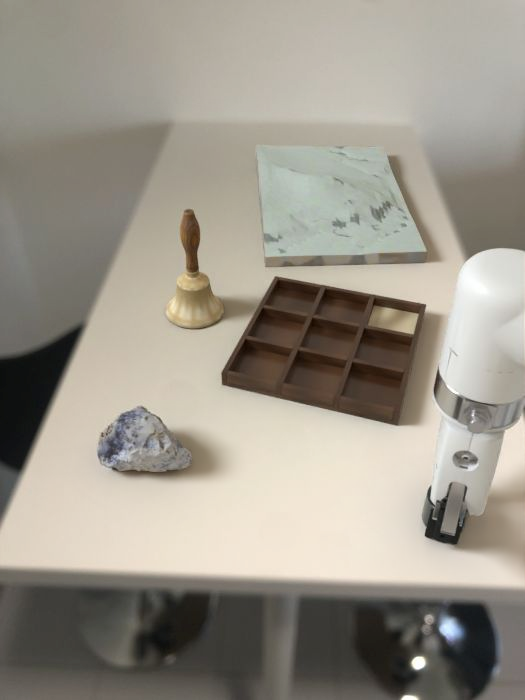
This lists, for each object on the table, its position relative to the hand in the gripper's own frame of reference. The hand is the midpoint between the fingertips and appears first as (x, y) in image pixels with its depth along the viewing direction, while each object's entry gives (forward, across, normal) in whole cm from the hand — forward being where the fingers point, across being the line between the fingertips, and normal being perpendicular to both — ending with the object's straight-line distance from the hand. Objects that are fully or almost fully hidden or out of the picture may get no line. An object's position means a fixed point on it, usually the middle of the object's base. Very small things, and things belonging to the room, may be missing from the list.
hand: (444, 516), depth 69 cm
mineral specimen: (0, -2, +33) cm, 33 cm away
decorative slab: (0, +60, +28) cm, 66 cm away
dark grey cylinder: (0, 0, 0) cm, 0 cm away
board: (0, +22, +18) cm, 29 cm away
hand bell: (0, +24, +38) cm, 45 cm away
